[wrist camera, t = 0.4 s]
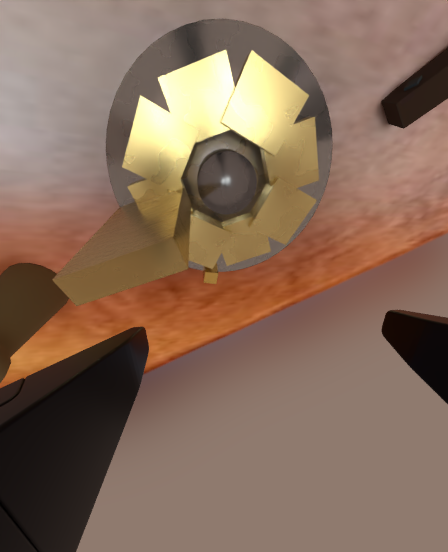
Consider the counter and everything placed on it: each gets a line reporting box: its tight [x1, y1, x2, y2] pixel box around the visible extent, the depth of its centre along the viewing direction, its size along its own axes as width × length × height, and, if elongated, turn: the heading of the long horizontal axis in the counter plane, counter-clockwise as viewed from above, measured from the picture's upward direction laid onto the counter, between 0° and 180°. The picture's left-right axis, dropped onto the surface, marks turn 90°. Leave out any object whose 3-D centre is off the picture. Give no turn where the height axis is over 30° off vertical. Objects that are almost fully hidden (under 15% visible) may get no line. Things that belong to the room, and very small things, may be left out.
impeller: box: [106, 19, 332, 284], centre depth 18 cm, size 18×18×3 cm
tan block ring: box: [52, 50, 319, 306], centre depth 14 cm, size 16×14×10 cm
